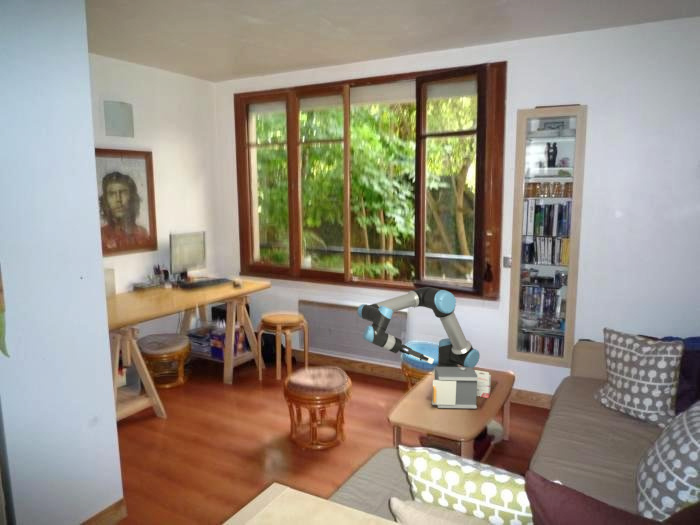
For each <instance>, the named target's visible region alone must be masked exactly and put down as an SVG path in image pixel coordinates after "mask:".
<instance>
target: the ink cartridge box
mask: <svg viewBox="0 0 700 525" xmlns="http://www.w3.org/2000/svg"><path fill="white" fill-rule="evenodd" d="M474 371H475V372H476V374H477V378H478V381H477V395H476V397H479V396H480V397H481V398H485V399H489V398H490V396H491V384H492V380H491V379H492V375H491V374H490V372H488V371H483V370H477V369H474Z"/></svg>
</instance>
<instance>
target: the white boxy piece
mask: <svg viewBox="0 0 700 525" xmlns="http://www.w3.org/2000/svg"><path fill="white" fill-rule="evenodd" d="M431 393H432V394H431V405H433V406H436V405H455V402H456V380H435V379H432V388H431Z"/></svg>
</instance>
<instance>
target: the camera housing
mask: <svg viewBox="0 0 700 525" xmlns="http://www.w3.org/2000/svg"><path fill="white" fill-rule="evenodd" d="M434 380H456V402H455V405H435V406H436V408H437V409H475V410H476V409H477V408H478V406H477V396H476V395H477V381H478V378H477V374H476V372H475V369H474V367H473V368H472V367H463V366H458V367H437V366H435V367H434Z"/></svg>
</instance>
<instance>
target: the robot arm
mask: <svg viewBox="0 0 700 525" xmlns="http://www.w3.org/2000/svg"><path fill="white" fill-rule="evenodd" d="M456 303H457V299H456V297H455V295H454V294H453V293H452V292H450V291H448V290H446V289H439V288H435V287H431V286H426V287H421V288H419V287H418V288H417V289H413V290H409V291H408V292H407V293H405V294H402V295H399V296H396V297H393V298H389V299H385V300H382V301H379V302H375V303H371V304H365V303H363V304H360V305H359V307H358V308H357V315H358V317H360V318H361V319H363V320H366V321H369V322H371V323H372V324H371V325H367V326H365V329H364V330H363V332H362V338H363V339H364V340H365V341H367V342H369V343H370V344H373V345H375V346H378V347H380V348H382V350H383V351H384V350H387V351H389V352H391V353H392V354H393V353H394V354H397V353H398V352H400V353H401V354H406V355H410V356H411V357H414V358H416V359H418V360H420V361H424V362H426V363H428V364H430V365H432V364H433V363H434V360H435V359H434V358H432V357H430V356H428V355H425V354H423V353H421V352H418V351H415V350H414V349H412V348H411V347H409V346H407V345H405V344H403V340H402V339H400V338H398V337H396V336H394V335H392V334H389V333H387V332H386V331H387V329H388V326H389V324H390V321H391V319H392V316H393V313H396V312H399V311H402V310H405V309H408V308H414V309H415V308H418V307H422V308H427V309H429V310H432V312H433V314H434V316H435V317H436V318H439V320H440V322H441V325H442V326H443V329H444V331H445V333H446V335H447V338H442V339H440V340H439V342H438V349H437V350H438V351H437V352H438V356H437V357H438V358H437V359H438V360H437V362H438V363H437V365H436V367H459V366H460V367H472V368H473V369H474V367H476V366H477V365H478V363H479V360H480V356H481V355H480V351H479V350H478V349H476V348H474V347H473V345H472V343H471V342H470V341H469V340H467V338H466V337H465V336H466V335H465V334H464V331H463V329H462V327H461V325H460V323H459V320H458V318H457V317H456V314H455V310H456V306H457V305H456Z"/></svg>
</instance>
